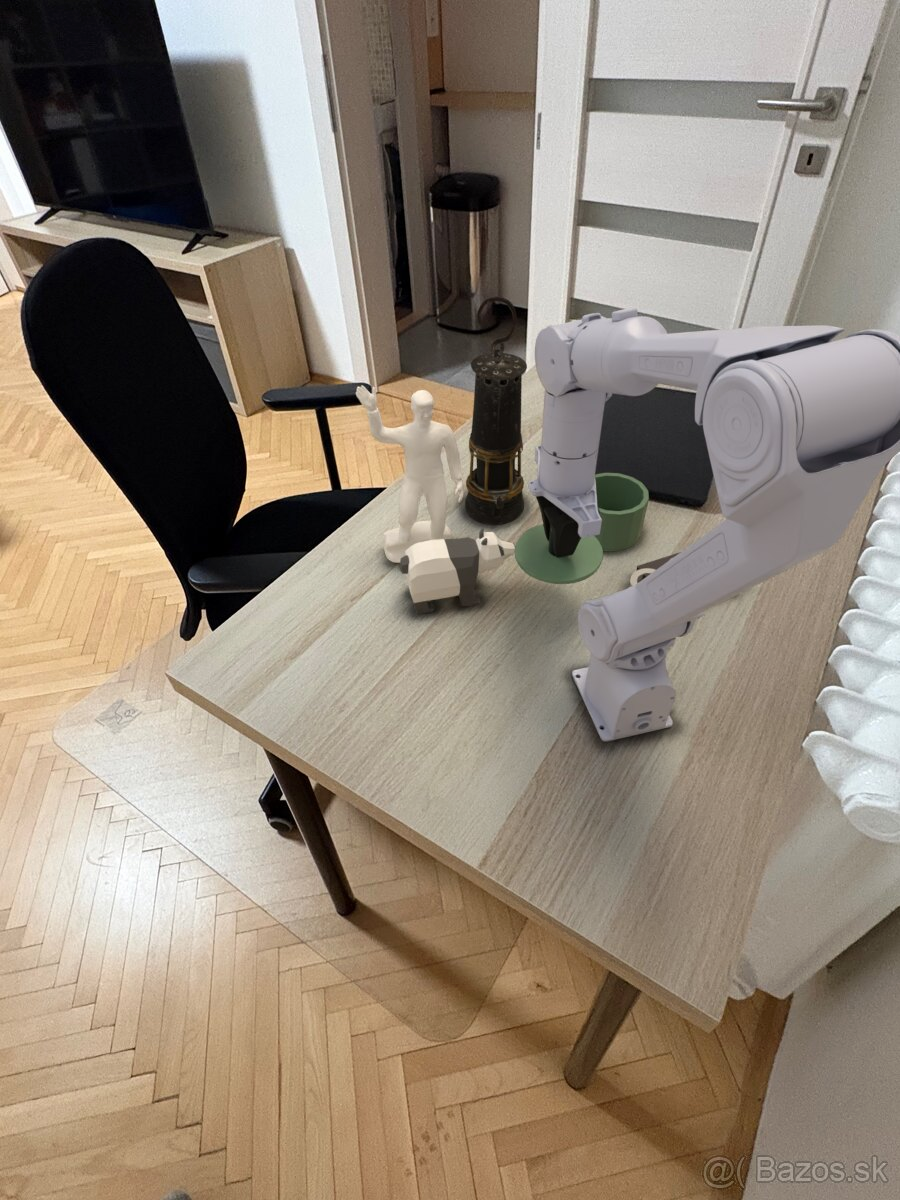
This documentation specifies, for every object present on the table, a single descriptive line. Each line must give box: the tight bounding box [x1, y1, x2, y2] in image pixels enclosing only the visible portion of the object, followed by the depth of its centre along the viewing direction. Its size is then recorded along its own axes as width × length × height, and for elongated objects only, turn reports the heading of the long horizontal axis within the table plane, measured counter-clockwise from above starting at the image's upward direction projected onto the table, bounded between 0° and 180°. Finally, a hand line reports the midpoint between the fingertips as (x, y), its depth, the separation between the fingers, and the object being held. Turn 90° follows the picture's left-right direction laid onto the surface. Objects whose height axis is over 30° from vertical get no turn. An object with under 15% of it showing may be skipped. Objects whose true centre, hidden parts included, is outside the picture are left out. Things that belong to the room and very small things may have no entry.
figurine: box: [355, 385, 464, 564], centre depth 78 cm, size 12×8×25 cm
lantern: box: [464, 296, 528, 526], centre depth 83 cm, size 9×9×30 cm
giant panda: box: [399, 528, 516, 615], centre depth 78 cm, size 15×6×10 cm, turn 101°
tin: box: [594, 472, 650, 552], centre depth 86 cm, size 9×9×6 cm
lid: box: [514, 523, 604, 585], centre depth 71 cm, size 10×10×5 cm
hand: (559, 545), depth 72 cm, fingers closed on lid, 2 cm apart
